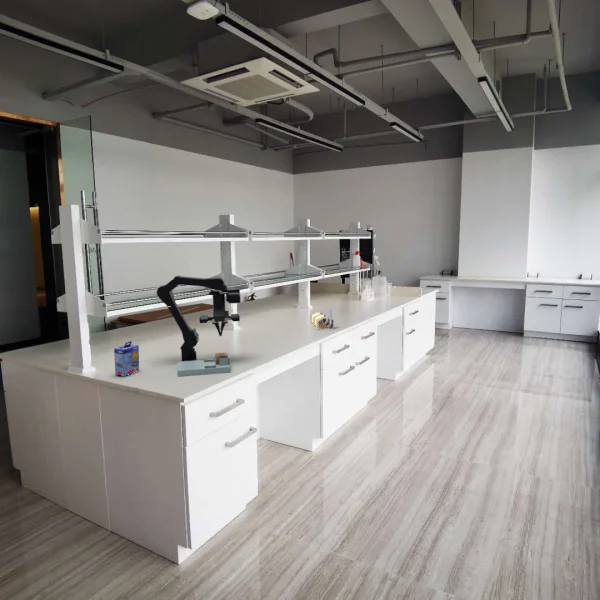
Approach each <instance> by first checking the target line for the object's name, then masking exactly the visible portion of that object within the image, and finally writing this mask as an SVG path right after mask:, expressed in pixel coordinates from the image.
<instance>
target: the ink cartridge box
mask: <svg viewBox="0 0 600 600" xmlns="http://www.w3.org/2000/svg"><path fill="white" fill-rule="evenodd" d="M139 349H140V347H139V345H138V344H134V343H133V344H132V340H130V341H127V342H125V343H124V345H123V346H118V347H115V348H114V349H113V350H114V351H113V353H114V354H113V355H114V372H115V374H114V375H115V376H116V375H121V376H126V375H128V374H131V373H133V374H135V373H134V372H136V371H139V372H140V353H139V351H140V350H139ZM136 373H137V372H136ZM131 375H132V374H131ZM121 376H120V377H121ZM128 376H129V375H128ZM126 377H127V376H126Z"/></svg>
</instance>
